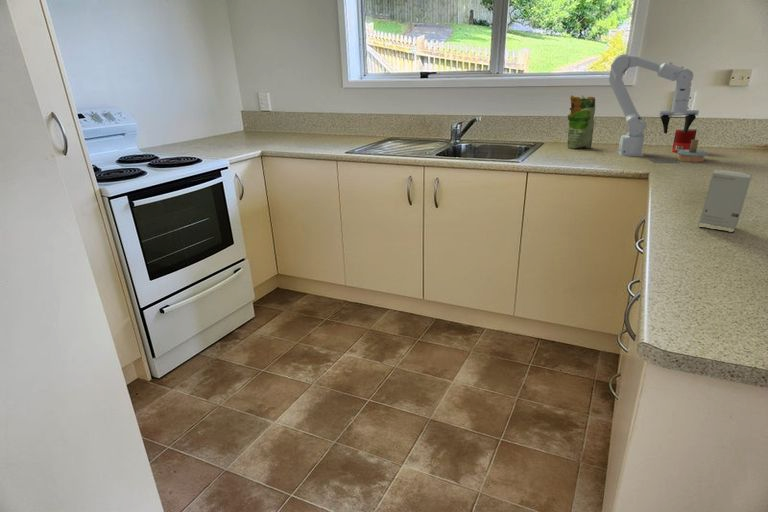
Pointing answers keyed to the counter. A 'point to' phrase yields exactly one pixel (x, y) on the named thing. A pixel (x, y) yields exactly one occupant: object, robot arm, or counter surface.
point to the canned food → (683, 138)
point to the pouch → (581, 122)
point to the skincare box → (725, 198)
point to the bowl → (691, 158)
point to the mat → (663, 160)
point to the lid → (693, 150)
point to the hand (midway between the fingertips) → (675, 133)
